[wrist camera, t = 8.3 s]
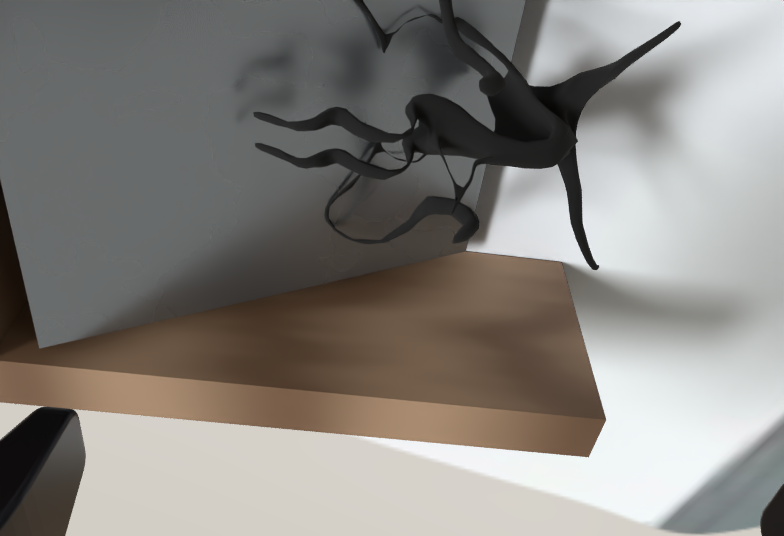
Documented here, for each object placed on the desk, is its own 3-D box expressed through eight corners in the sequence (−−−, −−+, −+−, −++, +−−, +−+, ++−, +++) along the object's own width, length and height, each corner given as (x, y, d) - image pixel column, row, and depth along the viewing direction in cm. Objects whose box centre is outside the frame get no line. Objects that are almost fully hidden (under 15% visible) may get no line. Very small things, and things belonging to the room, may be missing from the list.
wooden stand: (737, -247, 15) (907, -219, 10) (549, 297, 24) (588, 456, 19) (-85, -384, 14) (-364, -430, 9) (42, 242, 23) (-60, 396, 18)
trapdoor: (540, -164, 16) (563, -156, 16) (451, 236, 23) (465, 251, 22) (-91, -213, 11) (-89, -204, 10) (34, 326, 18) (39, 348, 17)
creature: (252, 229, 19) (527, 204, 21) (282, 380, 15) (616, 332, 17) (235, -90, 14) (596, -85, 16) (273, 13, 10) (742, 3, 12)
